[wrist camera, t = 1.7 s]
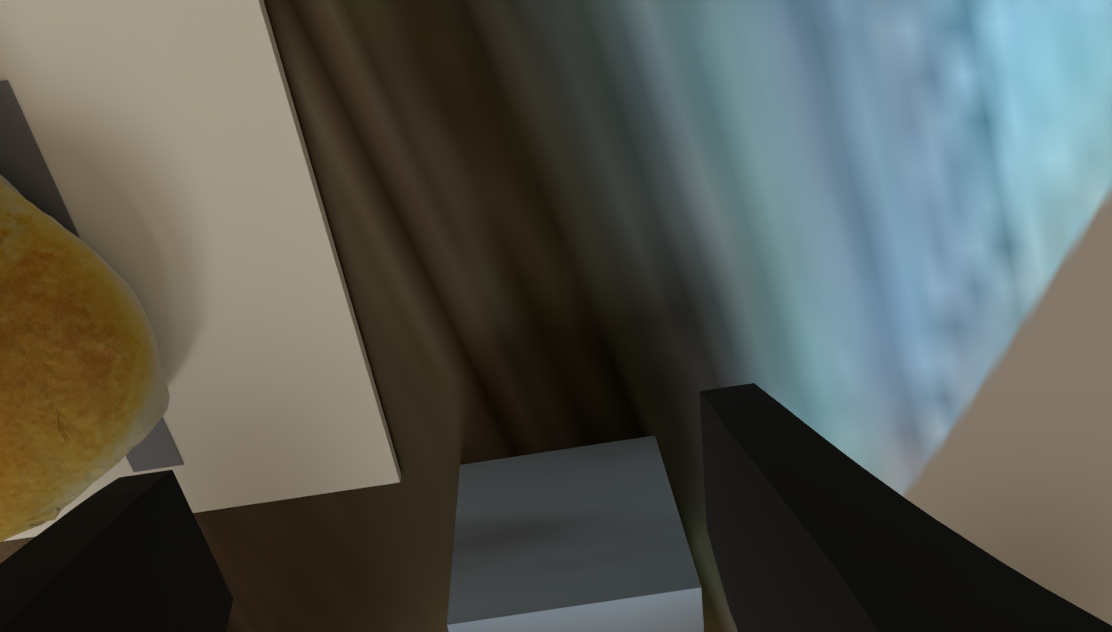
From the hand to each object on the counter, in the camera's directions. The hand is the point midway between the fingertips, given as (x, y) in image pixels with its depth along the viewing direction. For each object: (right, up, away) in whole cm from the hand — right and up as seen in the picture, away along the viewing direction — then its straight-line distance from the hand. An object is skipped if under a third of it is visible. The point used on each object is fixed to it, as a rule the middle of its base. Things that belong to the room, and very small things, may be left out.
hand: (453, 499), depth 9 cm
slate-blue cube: (+2, -3, +11) cm, 12 cm away
